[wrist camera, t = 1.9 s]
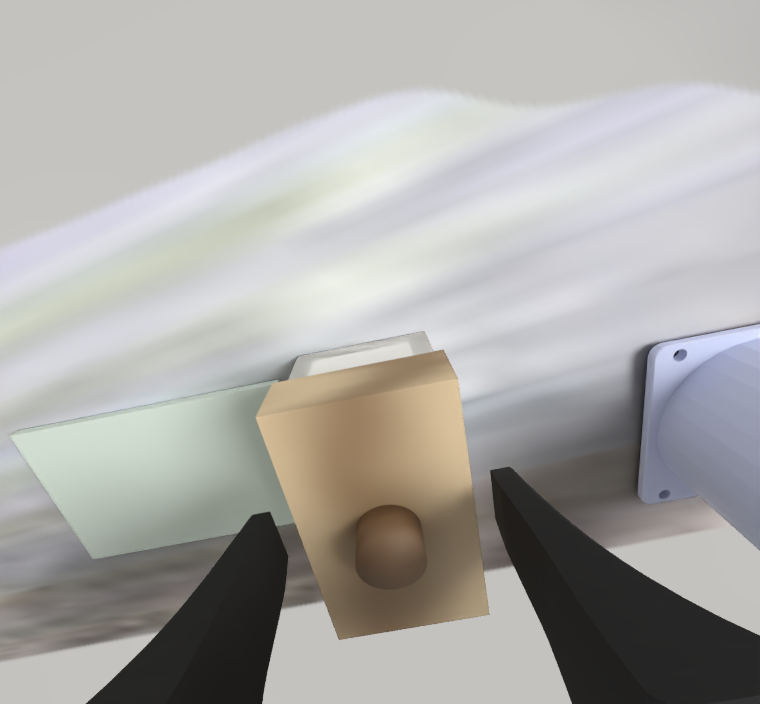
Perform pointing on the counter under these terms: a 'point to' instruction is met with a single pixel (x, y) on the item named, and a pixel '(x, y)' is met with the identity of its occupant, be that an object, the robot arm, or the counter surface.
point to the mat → (159, 471)
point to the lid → (381, 491)
